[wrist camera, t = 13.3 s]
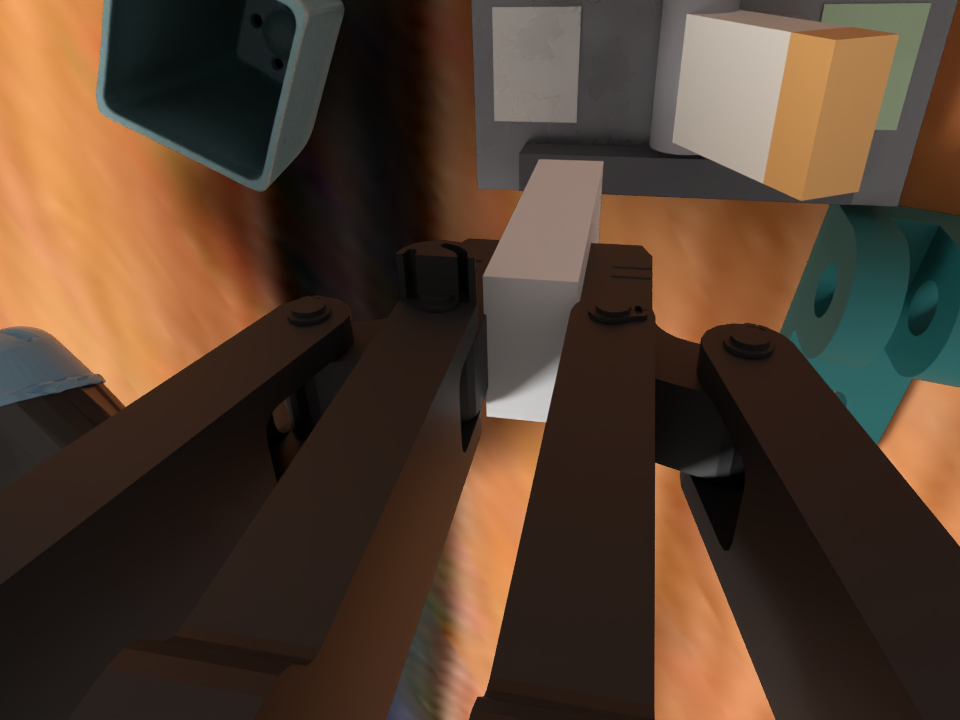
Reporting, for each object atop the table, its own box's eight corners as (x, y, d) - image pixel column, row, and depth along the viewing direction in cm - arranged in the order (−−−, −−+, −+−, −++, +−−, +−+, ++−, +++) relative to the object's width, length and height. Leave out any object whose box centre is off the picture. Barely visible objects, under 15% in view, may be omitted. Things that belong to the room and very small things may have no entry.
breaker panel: (489, 171, 39) (476, 189, 37) (483, -84, 33) (467, -84, 30) (881, 185, 35) (898, 207, 33) (960, -101, 29) (990, -103, 26)
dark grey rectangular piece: (524, 178, 36) (518, 190, 35) (525, -69, 30) (518, -68, 29) (842, 191, 33) (850, 204, 32) (910, -81, 27) (924, -81, 26)
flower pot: (197, 76, 40) (91, 112, 33) (224, -95, 35) (106, -96, 28) (338, 145, 40) (264, 197, 33) (384, -14, 35) (310, 5, 28)
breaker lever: (637, 141, 33) (790, 216, 24) (649, -5, 29) (831, 22, 21) (694, 134, 33) (862, 204, 25) (712, -9, 30) (912, 15, 22)
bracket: (832, 193, 36) (869, 255, 30) (972, 216, 35) (1042, 285, 29) (730, 458, 46) (741, 547, 40) (837, 480, 45) (866, 576, 39)
